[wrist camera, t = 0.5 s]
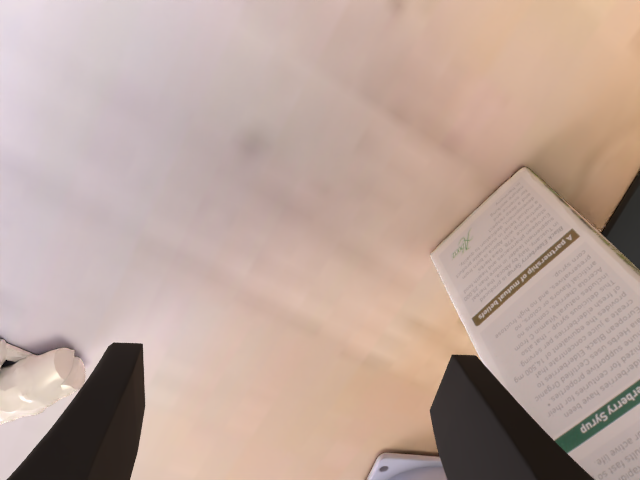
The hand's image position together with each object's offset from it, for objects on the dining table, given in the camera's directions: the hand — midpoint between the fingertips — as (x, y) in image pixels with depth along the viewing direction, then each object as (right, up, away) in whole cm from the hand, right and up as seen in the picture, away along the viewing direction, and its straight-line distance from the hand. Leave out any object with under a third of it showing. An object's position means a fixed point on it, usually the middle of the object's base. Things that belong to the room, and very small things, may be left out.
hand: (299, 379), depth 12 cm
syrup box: (+9, +3, +11) cm, 15 cm away
